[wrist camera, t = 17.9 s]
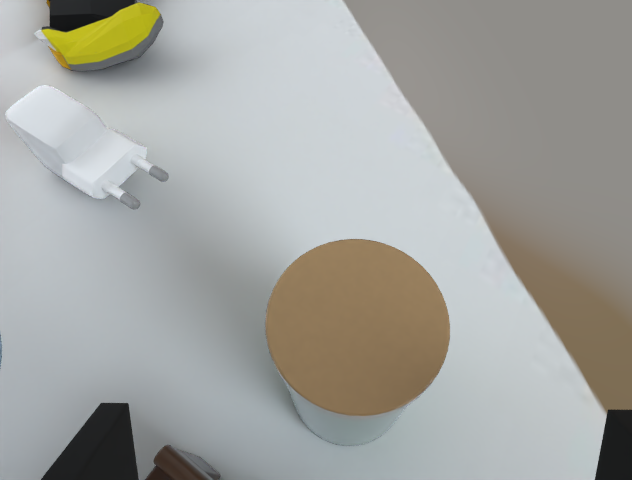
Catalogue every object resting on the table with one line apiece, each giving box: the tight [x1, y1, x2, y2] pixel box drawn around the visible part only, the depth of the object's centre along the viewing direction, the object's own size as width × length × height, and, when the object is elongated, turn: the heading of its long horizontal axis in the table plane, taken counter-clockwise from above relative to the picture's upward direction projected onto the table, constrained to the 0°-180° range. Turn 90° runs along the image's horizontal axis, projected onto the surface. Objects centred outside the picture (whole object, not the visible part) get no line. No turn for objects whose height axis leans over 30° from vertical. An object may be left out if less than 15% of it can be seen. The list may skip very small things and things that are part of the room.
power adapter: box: [5, 86, 169, 209], centre depth 31 cm, size 11×5×6 cm, turn 55°
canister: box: [265, 239, 450, 446], centre depth 22 cm, size 7×7×11 cm
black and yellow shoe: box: [34, 0, 163, 71], centre depth 40 cm, size 15×6×10 cm
